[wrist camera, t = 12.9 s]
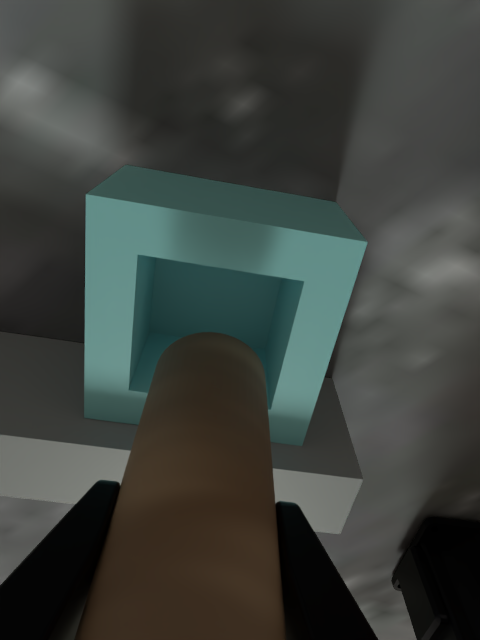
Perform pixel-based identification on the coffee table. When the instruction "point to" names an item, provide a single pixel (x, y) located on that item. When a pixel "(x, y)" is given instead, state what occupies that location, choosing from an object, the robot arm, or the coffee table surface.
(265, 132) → the coffee table surface
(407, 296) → the coffee table surface
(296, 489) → the wall
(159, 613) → the dowel
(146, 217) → the holed block
